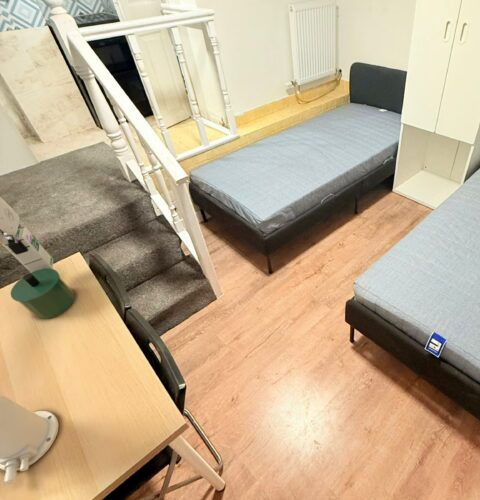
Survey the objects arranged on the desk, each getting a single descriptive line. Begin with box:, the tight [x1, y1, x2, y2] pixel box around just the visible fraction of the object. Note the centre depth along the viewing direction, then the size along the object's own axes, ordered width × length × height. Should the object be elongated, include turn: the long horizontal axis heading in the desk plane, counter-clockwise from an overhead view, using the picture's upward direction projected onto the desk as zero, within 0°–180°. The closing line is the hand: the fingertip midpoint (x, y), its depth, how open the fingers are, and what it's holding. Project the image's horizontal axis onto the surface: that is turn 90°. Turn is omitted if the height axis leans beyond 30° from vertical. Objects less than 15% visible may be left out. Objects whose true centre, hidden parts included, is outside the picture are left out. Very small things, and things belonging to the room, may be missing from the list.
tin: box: [19, 277, 76, 320], centre depth 104 cm, size 12×12×10 cm
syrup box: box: [1, 226, 54, 273], centre depth 104 cm, size 6×6×14 cm
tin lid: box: [10, 268, 61, 303], centre depth 100 cm, size 13×13×5 cm
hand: (23, 245), depth 102 cm, fingers closed on syrup box, 5 cm apart
